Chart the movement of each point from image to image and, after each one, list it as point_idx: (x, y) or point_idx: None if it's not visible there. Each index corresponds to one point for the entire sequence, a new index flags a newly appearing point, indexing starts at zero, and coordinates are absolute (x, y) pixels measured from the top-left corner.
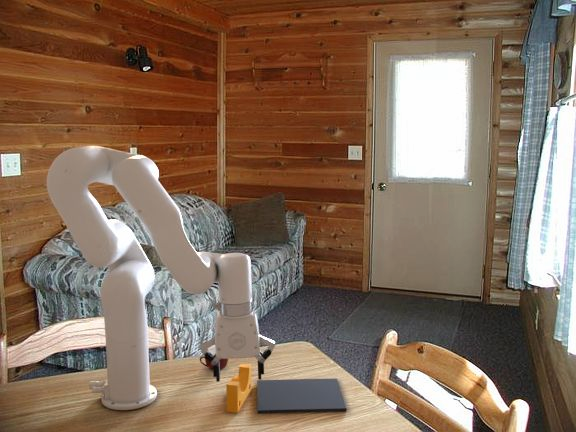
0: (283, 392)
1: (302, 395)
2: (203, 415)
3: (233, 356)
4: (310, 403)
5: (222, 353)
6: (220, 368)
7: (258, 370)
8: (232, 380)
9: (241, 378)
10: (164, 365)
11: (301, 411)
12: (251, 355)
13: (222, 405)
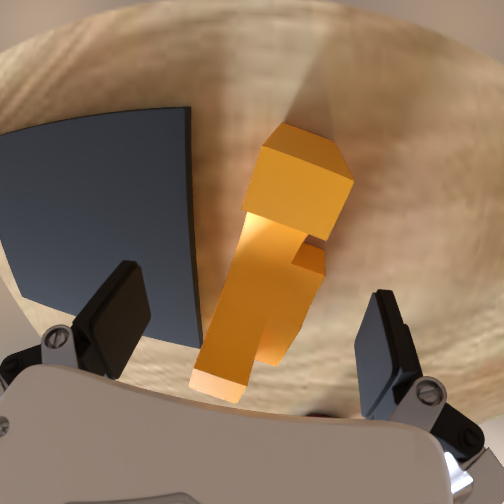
0: (104, 252)
1: (53, 222)
2: (435, 133)
3: (258, 432)
4: (30, 166)
5: (392, 475)
6: (310, 416)
7: (111, 296)
8: (288, 335)
9: (244, 331)
10: None
11: (50, 122)
12: (63, 380)
13: (347, 206)
